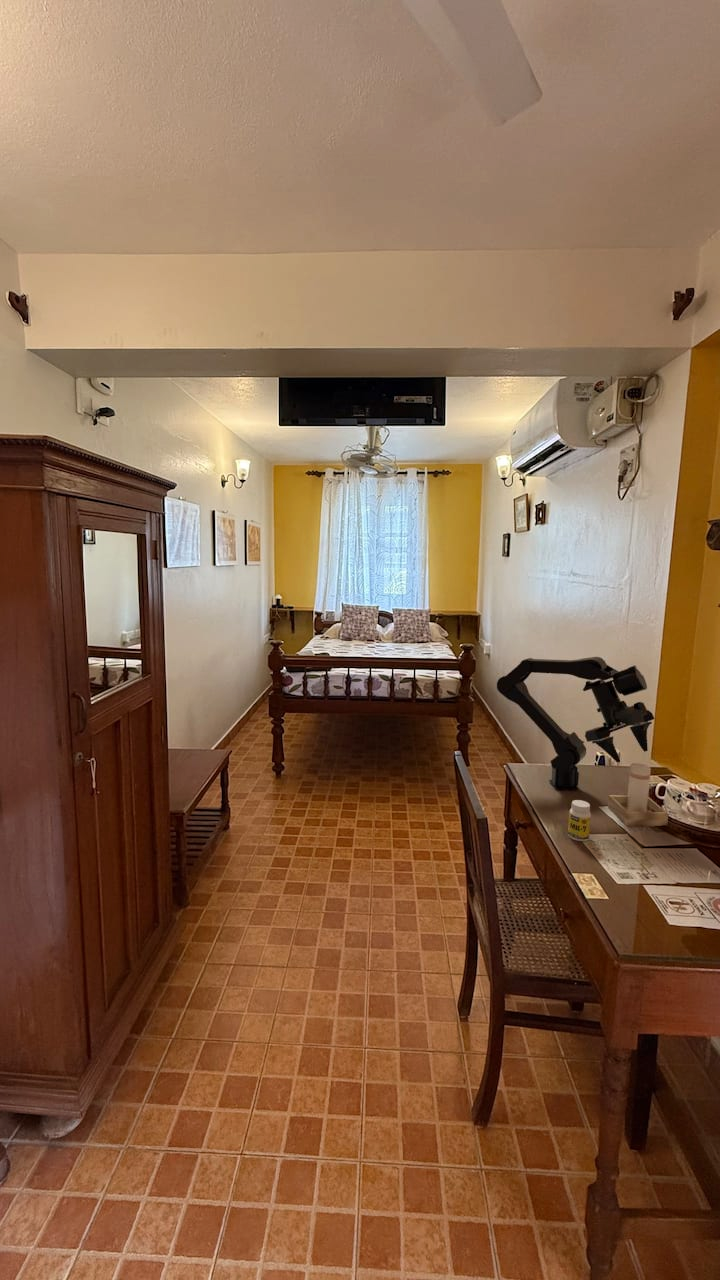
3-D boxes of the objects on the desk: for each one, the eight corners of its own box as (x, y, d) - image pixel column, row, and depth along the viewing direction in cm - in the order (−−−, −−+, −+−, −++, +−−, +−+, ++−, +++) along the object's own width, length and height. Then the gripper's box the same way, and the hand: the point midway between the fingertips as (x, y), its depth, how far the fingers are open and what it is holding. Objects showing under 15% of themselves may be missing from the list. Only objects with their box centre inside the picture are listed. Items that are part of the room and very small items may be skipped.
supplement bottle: (566, 838, 129) (568, 805, 128) (569, 830, 133) (571, 797, 132) (588, 843, 127) (590, 809, 126) (590, 835, 131) (592, 801, 130)
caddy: (625, 826, 136) (626, 812, 135) (607, 807, 146) (608, 795, 145) (667, 826, 136) (668, 813, 135) (646, 808, 146) (647, 796, 145)
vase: (633, 819, 138) (638, 770, 136) (622, 811, 143) (626, 763, 141) (650, 818, 139) (655, 769, 137) (638, 810, 143) (642, 762, 142)
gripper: (598, 706, 139) (624, 766, 136) (656, 685, 144) (681, 742, 141) (574, 713, 150) (597, 768, 147) (628, 693, 155) (651, 746, 152)
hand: (632, 756), depth 146 cm, fingers open, 9 cm apart
